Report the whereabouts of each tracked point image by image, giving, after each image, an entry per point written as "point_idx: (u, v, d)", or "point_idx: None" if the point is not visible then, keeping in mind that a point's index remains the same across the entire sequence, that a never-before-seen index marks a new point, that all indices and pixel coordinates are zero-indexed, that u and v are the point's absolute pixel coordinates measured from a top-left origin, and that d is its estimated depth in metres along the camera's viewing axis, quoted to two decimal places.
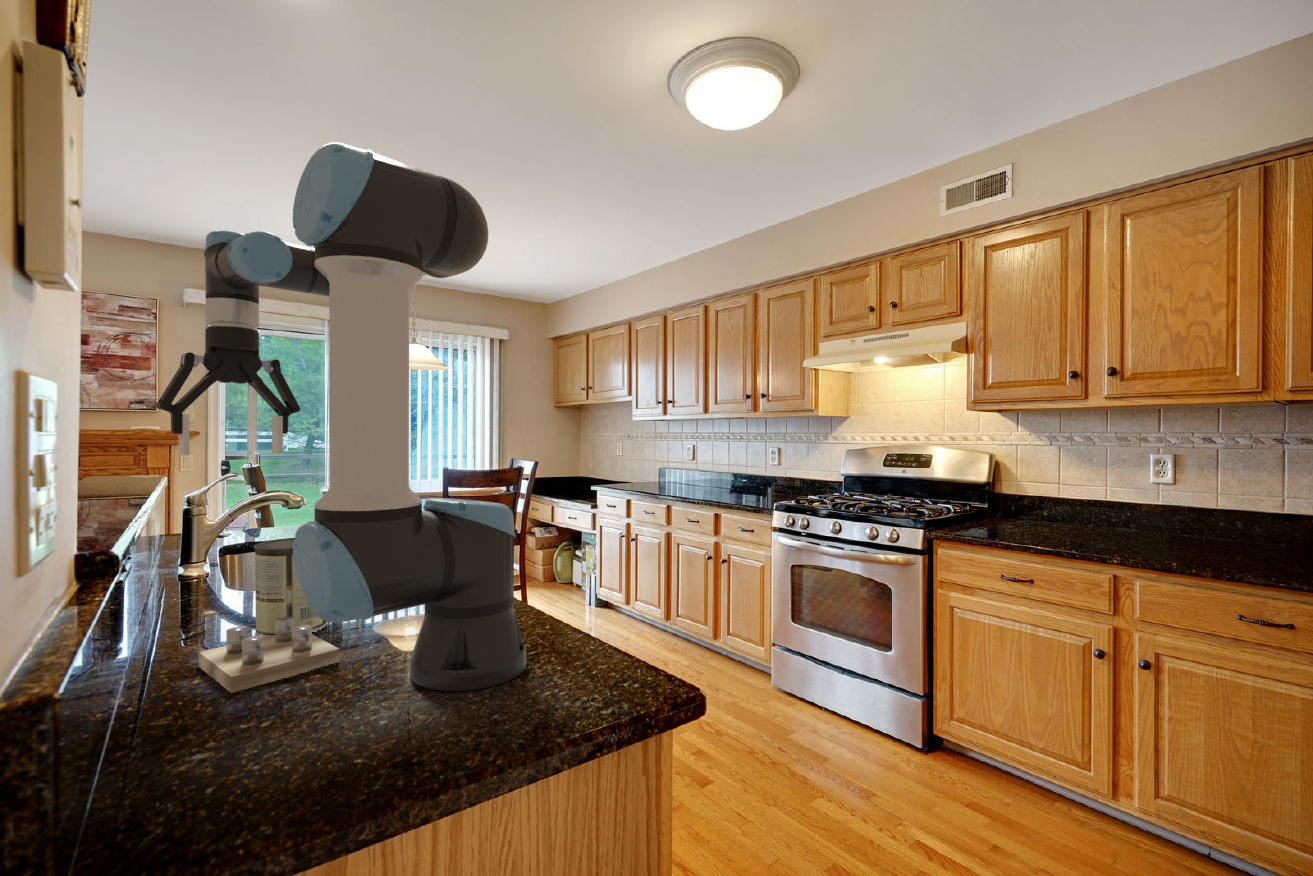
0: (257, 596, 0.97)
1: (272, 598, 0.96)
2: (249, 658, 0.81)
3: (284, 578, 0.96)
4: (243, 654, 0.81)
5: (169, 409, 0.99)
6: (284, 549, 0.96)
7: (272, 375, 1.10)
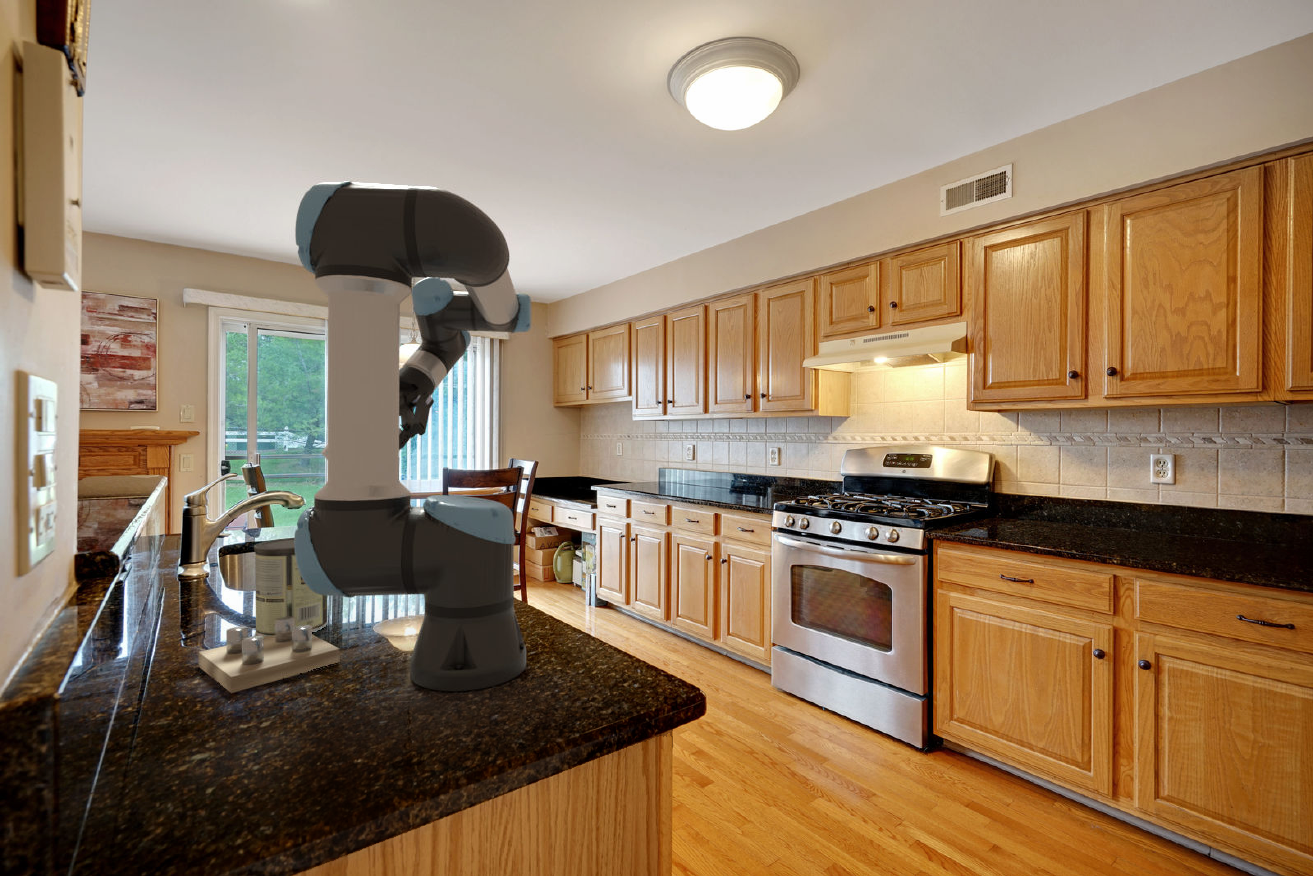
0: (257, 596, 0.97)
1: (272, 598, 0.96)
2: (249, 658, 0.81)
3: (284, 578, 0.96)
4: (243, 654, 0.81)
5: None
6: (284, 549, 0.96)
7: None
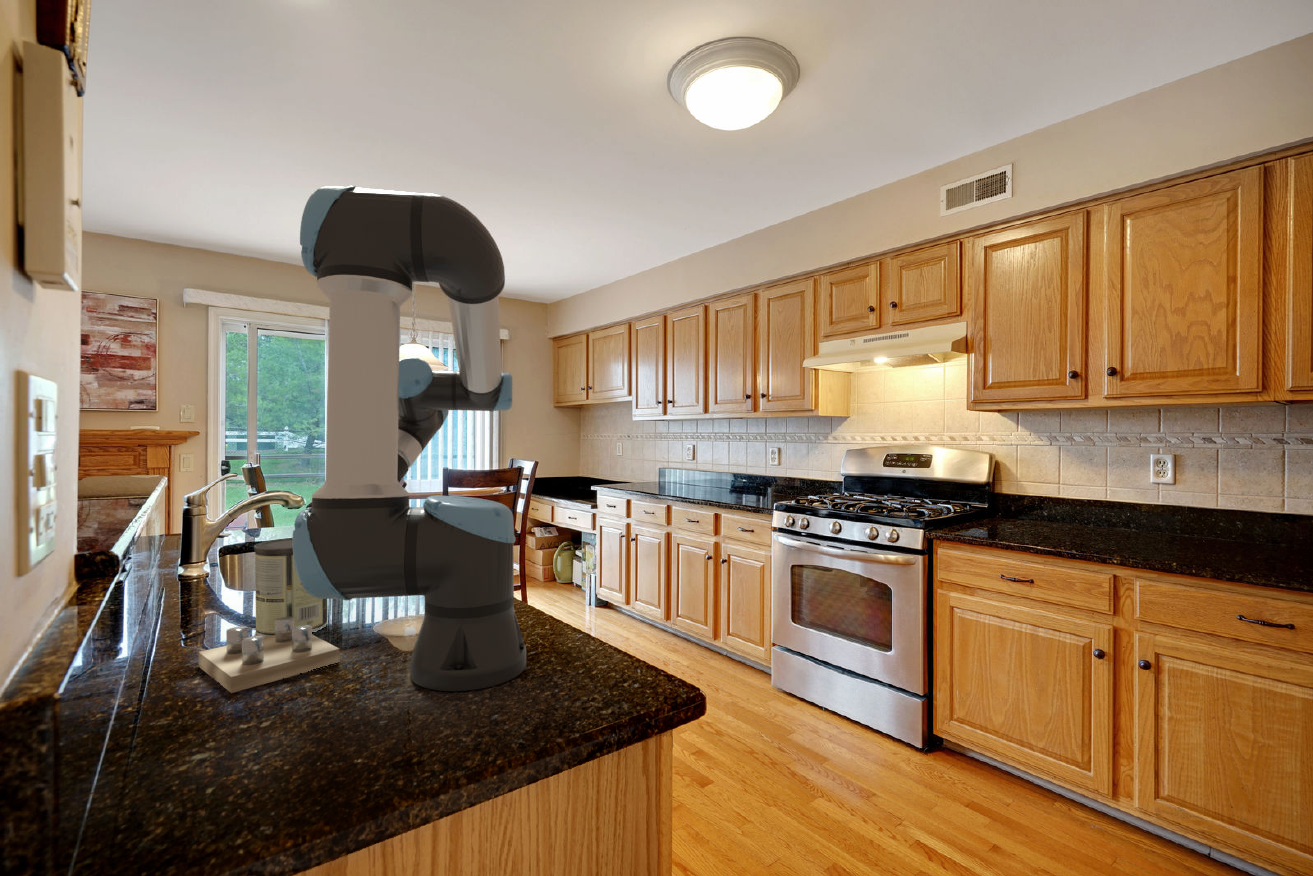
0: (257, 596, 0.97)
1: (272, 598, 0.96)
2: (249, 658, 0.81)
3: (284, 578, 0.96)
4: (243, 654, 0.81)
5: None
6: (284, 549, 0.96)
7: None
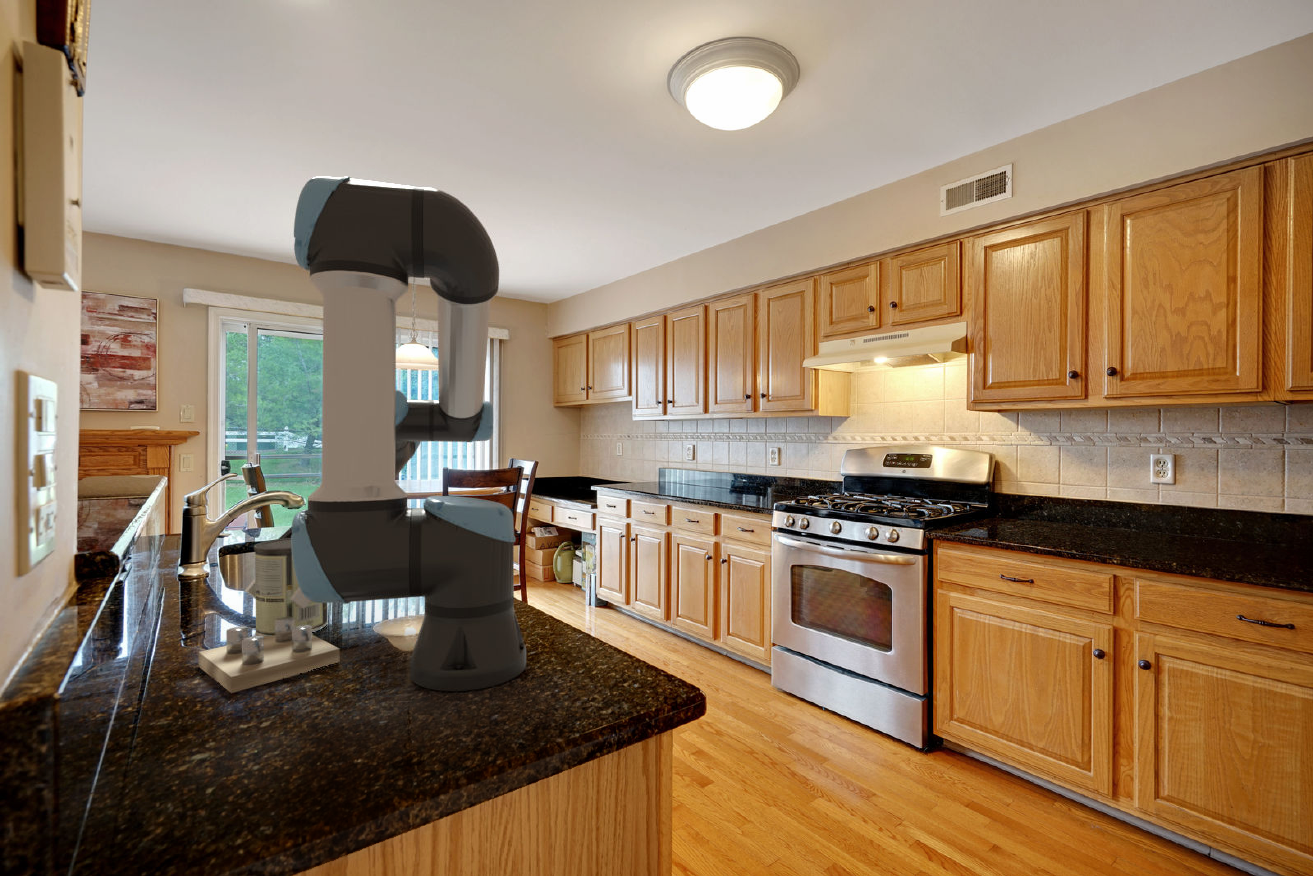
0: (257, 596, 0.97)
1: (272, 598, 0.96)
2: (249, 658, 0.81)
3: (284, 578, 0.96)
4: (243, 654, 0.81)
5: None
6: (284, 549, 0.96)
7: None
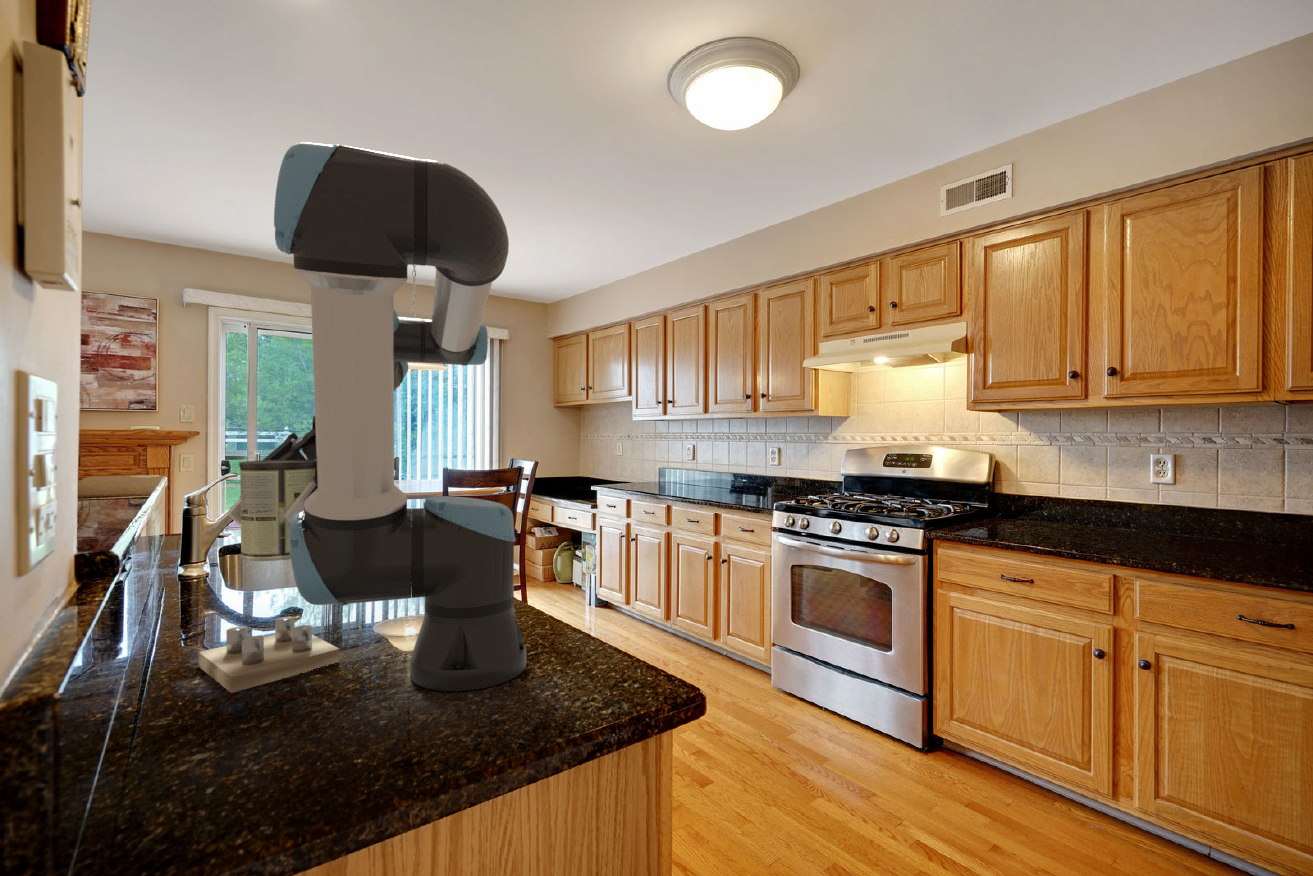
0: (244, 516, 0.90)
1: (262, 516, 0.89)
2: (249, 658, 0.81)
3: (276, 495, 0.89)
4: (243, 654, 0.81)
5: None
6: (276, 463, 0.89)
7: None
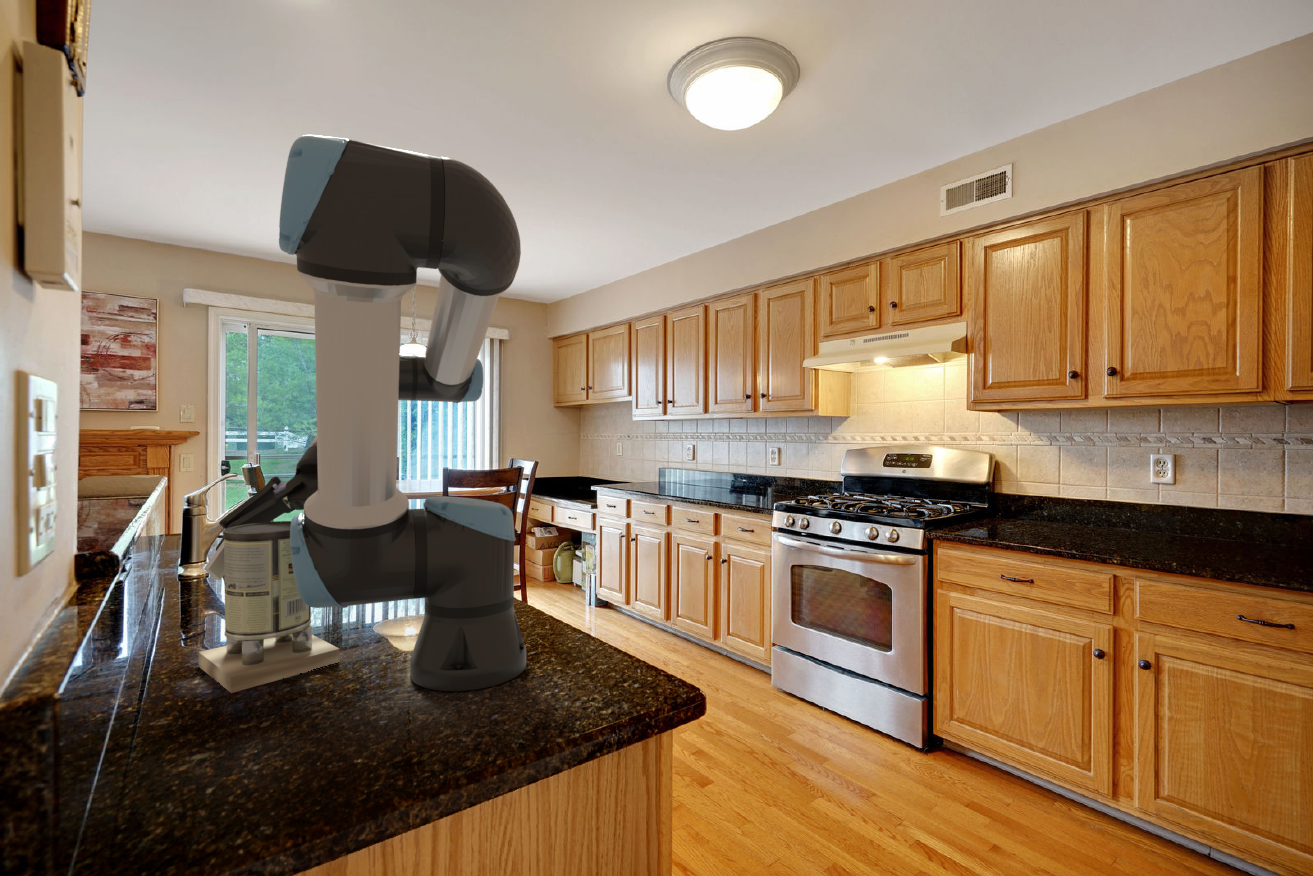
0: (231, 591, 0.82)
1: (254, 591, 0.81)
2: (249, 658, 0.81)
3: (269, 567, 0.82)
4: (243, 654, 0.81)
5: (227, 527, 0.90)
6: (270, 533, 0.82)
7: None
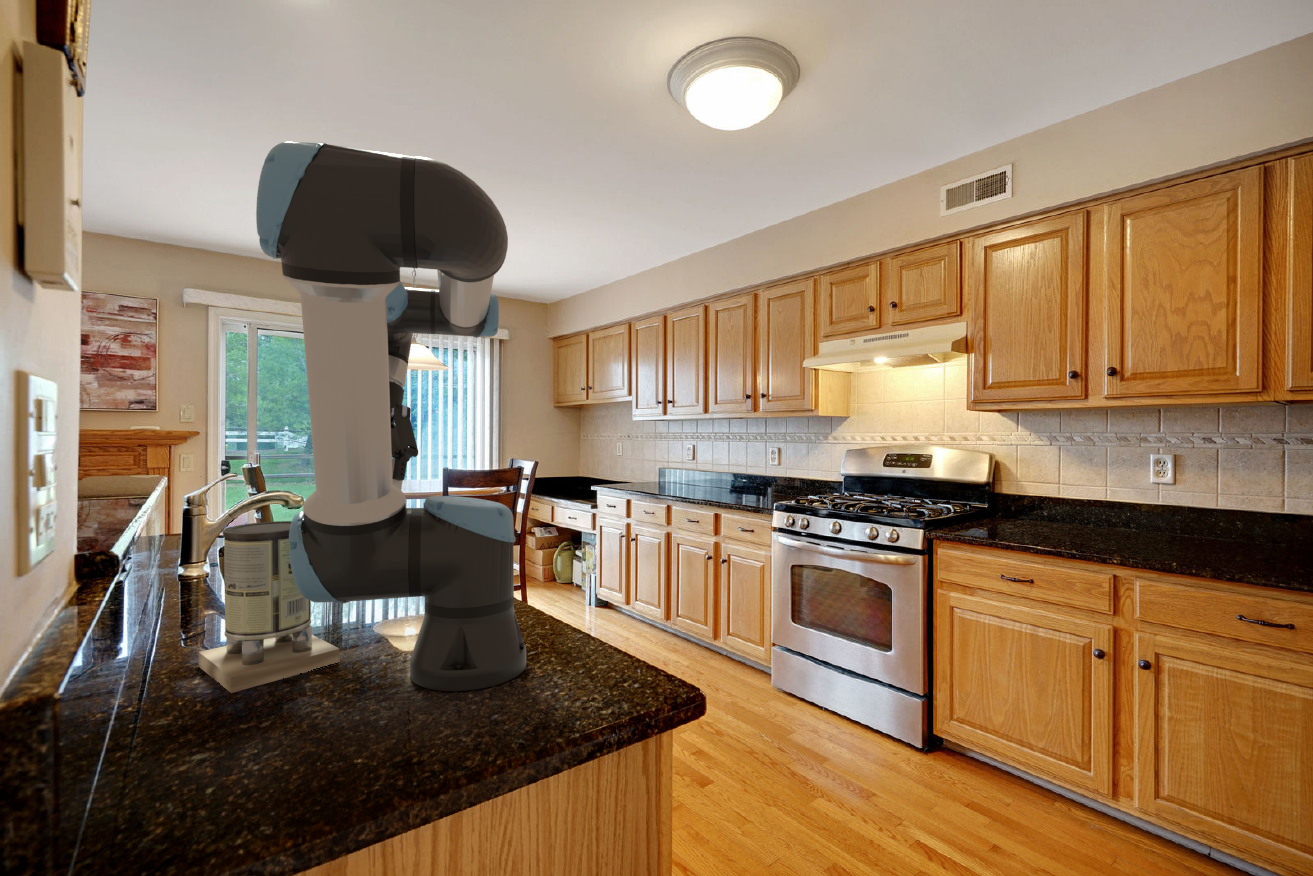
0: (231, 591, 0.82)
1: (254, 591, 0.81)
2: (249, 658, 0.81)
3: (269, 567, 0.82)
4: (243, 654, 0.81)
5: None
6: (270, 533, 0.82)
7: None
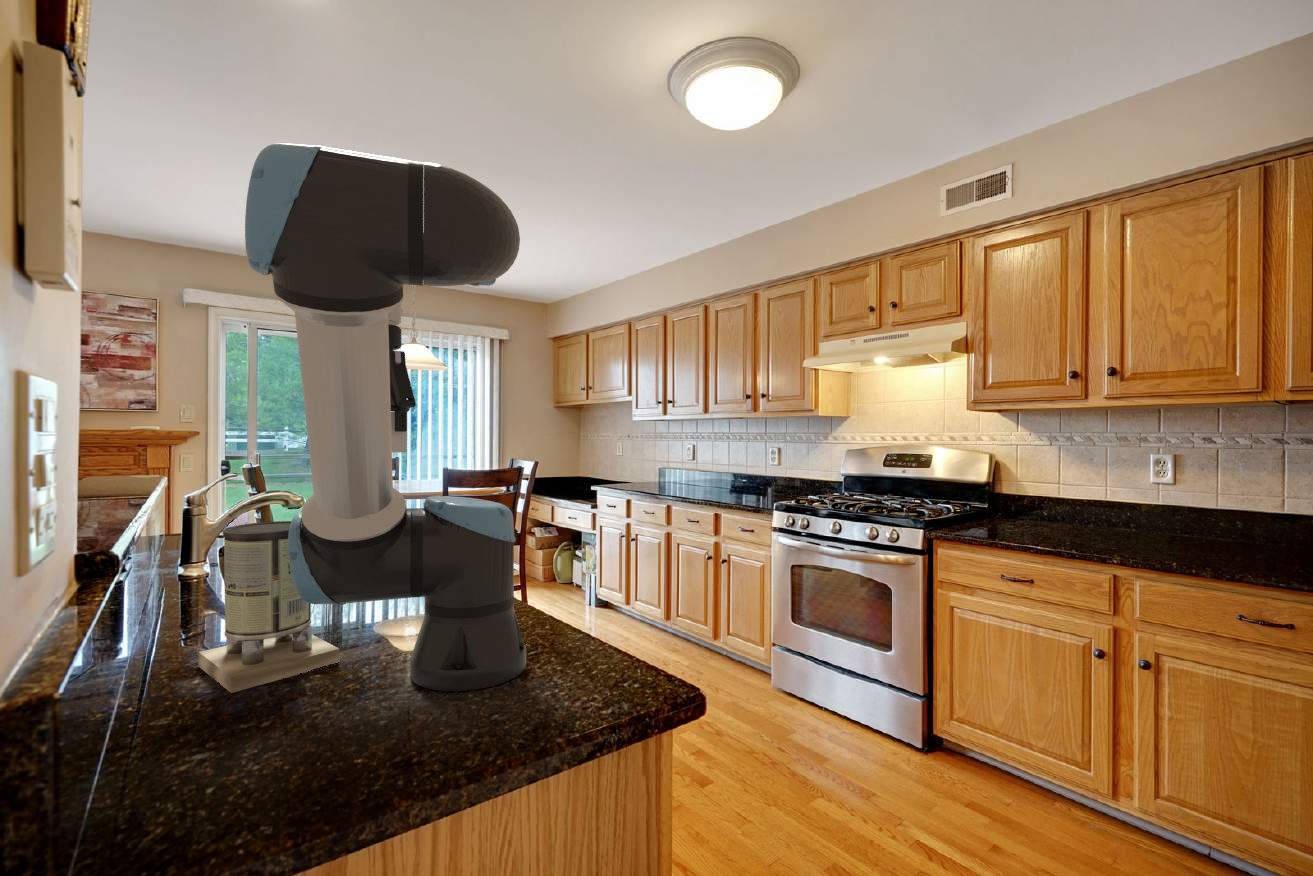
0: (231, 591, 0.82)
1: (254, 591, 0.81)
2: (249, 658, 0.81)
3: (269, 567, 0.82)
4: (243, 654, 0.81)
5: None
6: (270, 533, 0.82)
7: None
